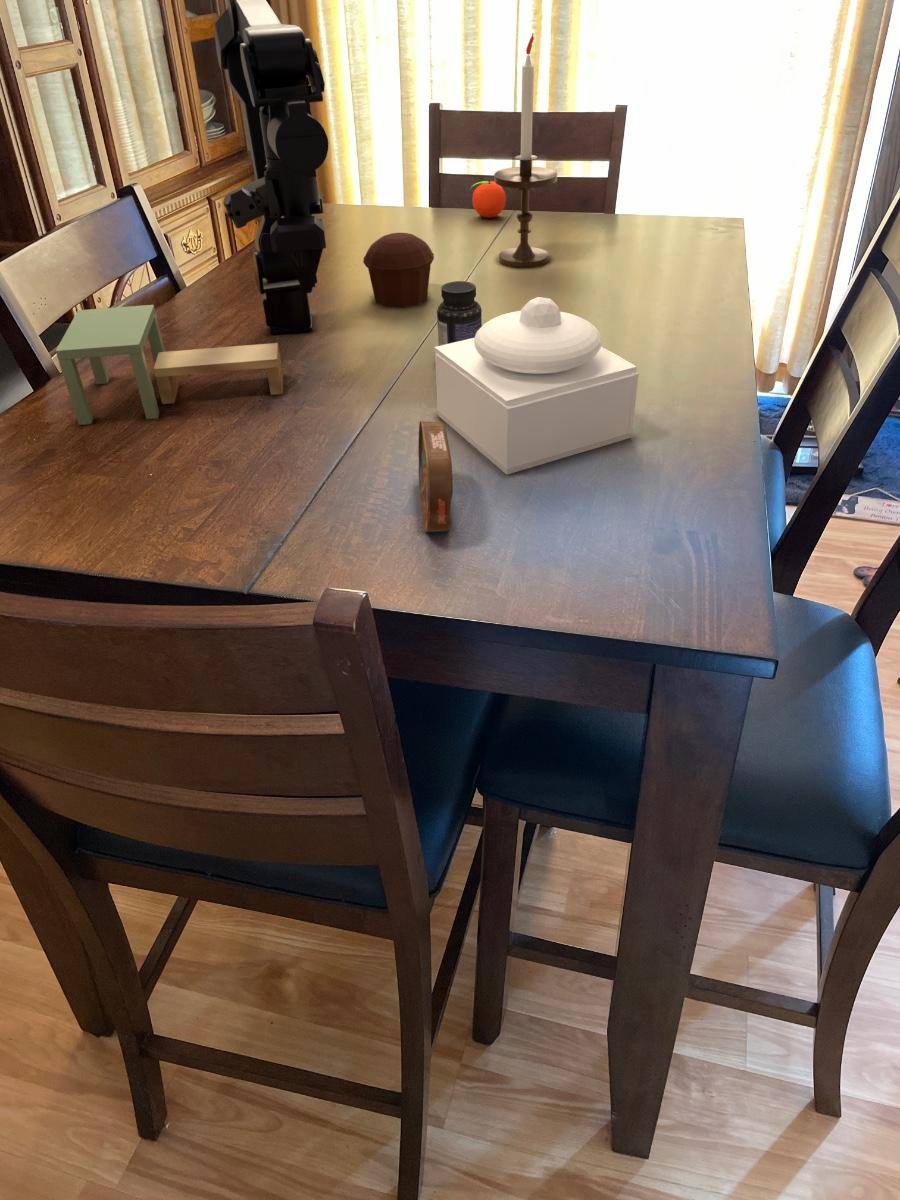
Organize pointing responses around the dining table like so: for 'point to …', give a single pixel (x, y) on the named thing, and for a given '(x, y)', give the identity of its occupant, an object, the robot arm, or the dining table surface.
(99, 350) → the side table
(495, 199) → the clementine
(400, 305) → the muffin
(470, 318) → the pill bottle
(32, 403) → the dining table surface
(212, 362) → the bench
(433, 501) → the tin
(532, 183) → the candlestick
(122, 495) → the dining table surface
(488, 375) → the white lidded box
